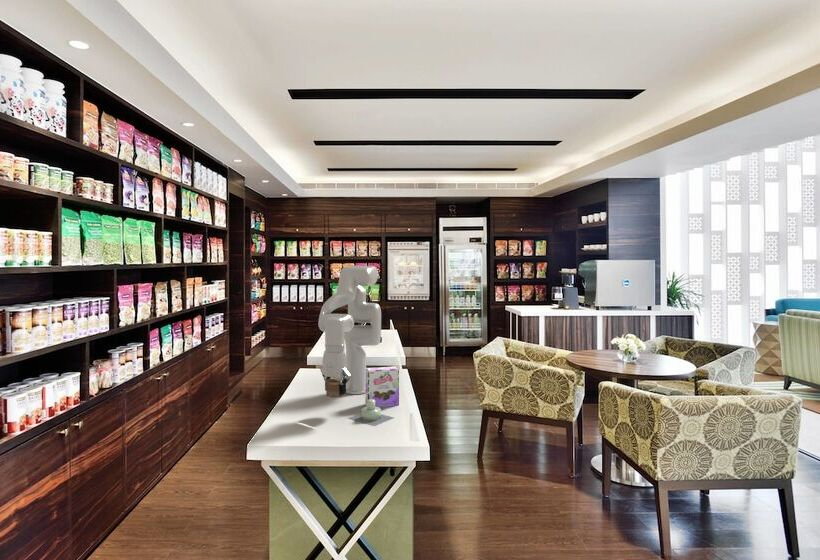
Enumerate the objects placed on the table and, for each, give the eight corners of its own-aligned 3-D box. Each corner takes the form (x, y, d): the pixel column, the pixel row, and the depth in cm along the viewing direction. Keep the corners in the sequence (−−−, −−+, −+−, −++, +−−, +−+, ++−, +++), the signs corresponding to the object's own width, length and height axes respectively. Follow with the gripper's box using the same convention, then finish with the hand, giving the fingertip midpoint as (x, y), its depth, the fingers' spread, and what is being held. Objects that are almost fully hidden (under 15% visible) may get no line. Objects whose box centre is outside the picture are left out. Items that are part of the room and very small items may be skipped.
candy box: (367, 409, 196) (367, 370, 195) (365, 405, 202) (365, 367, 201) (399, 406, 200) (399, 368, 199) (396, 402, 205) (396, 365, 205)
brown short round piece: (322, 395, 185) (322, 380, 185) (335, 390, 191) (335, 375, 191) (335, 398, 181) (335, 383, 180) (348, 393, 187) (348, 378, 186)
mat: (347, 419, 182) (347, 418, 182) (368, 412, 192) (368, 410, 192) (374, 427, 174) (374, 426, 174) (394, 419, 184) (394, 417, 184)
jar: (357, 418, 182) (357, 400, 182) (370, 413, 188) (370, 396, 188) (371, 422, 178) (371, 404, 177) (384, 417, 184) (384, 399, 183)
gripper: (312, 347, 187) (313, 390, 188) (343, 353, 176) (344, 398, 178) (326, 343, 193) (327, 385, 194) (357, 349, 182) (357, 393, 184)
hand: (335, 391), depth 186 cm, fingers closed on brown short round piece, 7 cm apart
